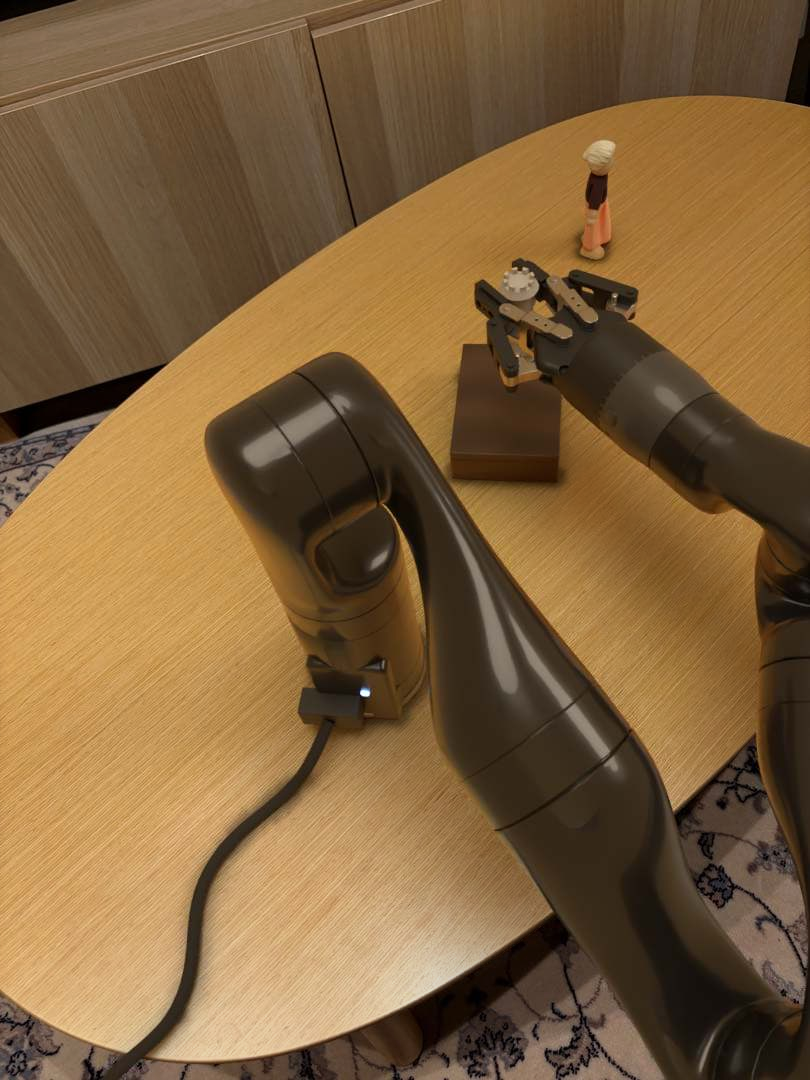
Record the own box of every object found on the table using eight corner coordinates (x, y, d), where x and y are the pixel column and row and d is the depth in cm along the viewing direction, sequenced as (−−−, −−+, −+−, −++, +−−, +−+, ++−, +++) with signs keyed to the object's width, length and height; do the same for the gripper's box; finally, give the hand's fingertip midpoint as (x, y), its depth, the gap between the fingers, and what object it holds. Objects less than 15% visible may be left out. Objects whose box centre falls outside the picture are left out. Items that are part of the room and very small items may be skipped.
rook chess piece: (555, 345, 76) (558, 272, 69) (522, 375, 74) (522, 304, 68) (515, 324, 78) (514, 251, 71) (482, 353, 76) (479, 281, 69)
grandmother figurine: (614, 264, 97) (626, 162, 86) (579, 267, 97) (587, 166, 87) (606, 220, 101) (617, 117, 90) (573, 223, 101) (580, 121, 91)
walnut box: (557, 482, 82) (559, 456, 78) (452, 478, 83) (449, 453, 80) (561, 372, 89) (563, 344, 86) (464, 370, 91) (463, 343, 87)
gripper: (564, 476, 65) (432, 350, 74) (702, 385, 69) (560, 275, 77) (569, 410, 59) (424, 281, 68) (721, 313, 62) (563, 202, 71)
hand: (497, 278), depth 72 cm, fingers closed on rook chess piece, 3 cm apart
